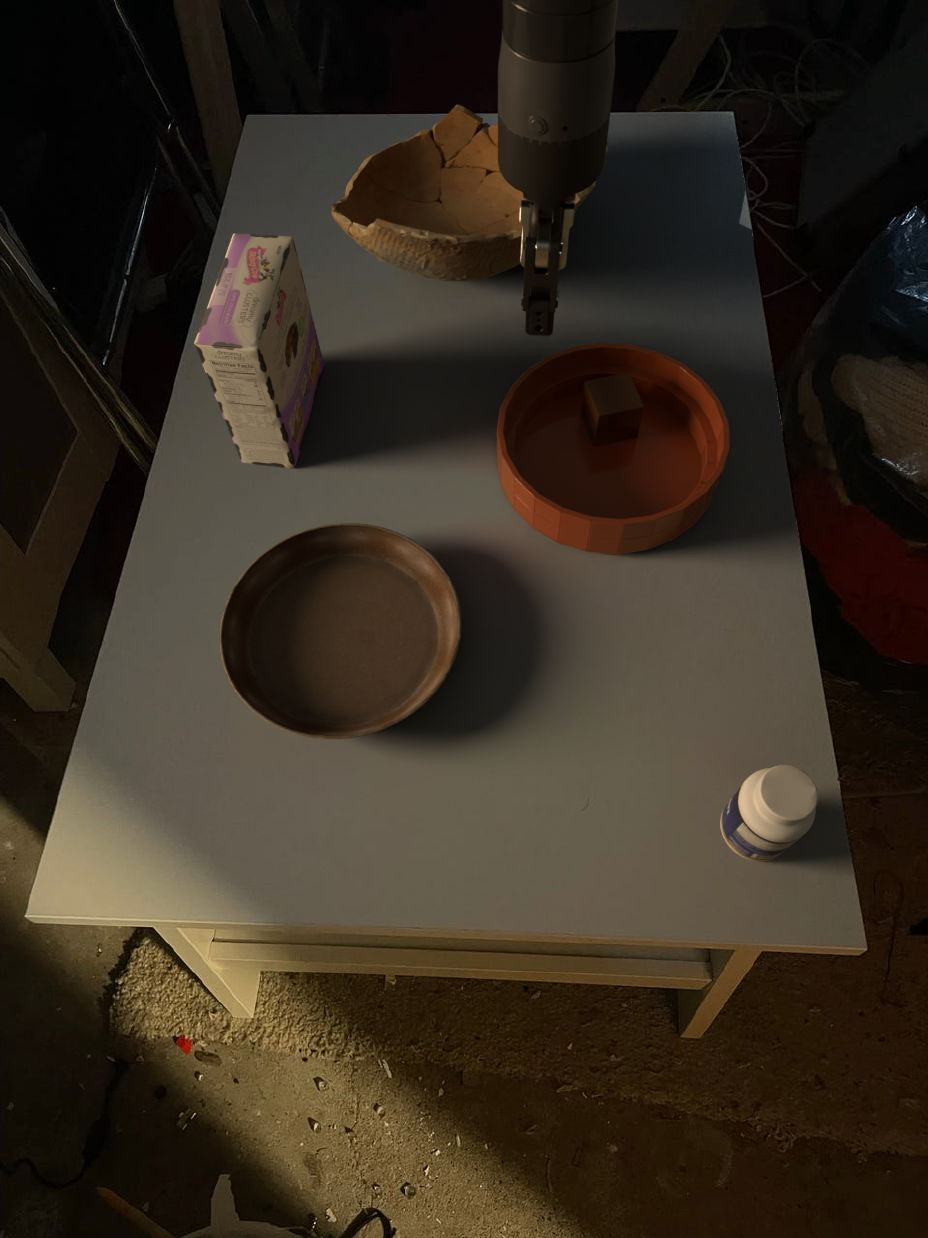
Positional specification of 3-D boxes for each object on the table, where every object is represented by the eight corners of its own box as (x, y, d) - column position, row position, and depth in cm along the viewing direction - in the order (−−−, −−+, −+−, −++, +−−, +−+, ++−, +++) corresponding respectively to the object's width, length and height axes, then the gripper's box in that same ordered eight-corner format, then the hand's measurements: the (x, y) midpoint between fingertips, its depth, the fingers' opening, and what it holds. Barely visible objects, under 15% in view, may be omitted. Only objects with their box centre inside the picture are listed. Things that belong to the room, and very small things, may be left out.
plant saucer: (510, 625, 79) (510, 608, 76) (349, 801, 72) (343, 789, 69) (342, 505, 86) (337, 484, 83) (181, 654, 79) (169, 638, 76)
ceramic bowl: (386, 125, 110) (394, 1, 96) (595, 193, 110) (632, 79, 96) (301, 301, 97) (295, 186, 84) (537, 377, 98) (570, 275, 84)
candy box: (272, 360, 95) (232, 228, 80) (326, 365, 94) (295, 233, 80) (239, 464, 88) (189, 341, 74) (296, 469, 88) (258, 347, 73)
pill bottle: (738, 781, 72) (771, 740, 63) (800, 819, 70) (842, 781, 62) (706, 836, 70) (736, 801, 61) (768, 876, 68) (808, 846, 60)
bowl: (714, 389, 91) (727, 350, 86) (717, 566, 81) (732, 533, 76) (508, 375, 93) (509, 336, 88) (486, 547, 83) (486, 513, 78)
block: (623, 403, 90) (629, 371, 86) (637, 437, 88) (644, 406, 84) (580, 412, 89) (584, 380, 85) (593, 446, 87) (598, 416, 83)
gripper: (606, 174, 55) (584, 362, 70) (615, 40, 62) (593, 237, 76) (486, 168, 56) (488, 356, 70) (508, 37, 63) (505, 233, 77)
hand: (543, 294), depth 73 cm, fingers open, 8 cm apart
